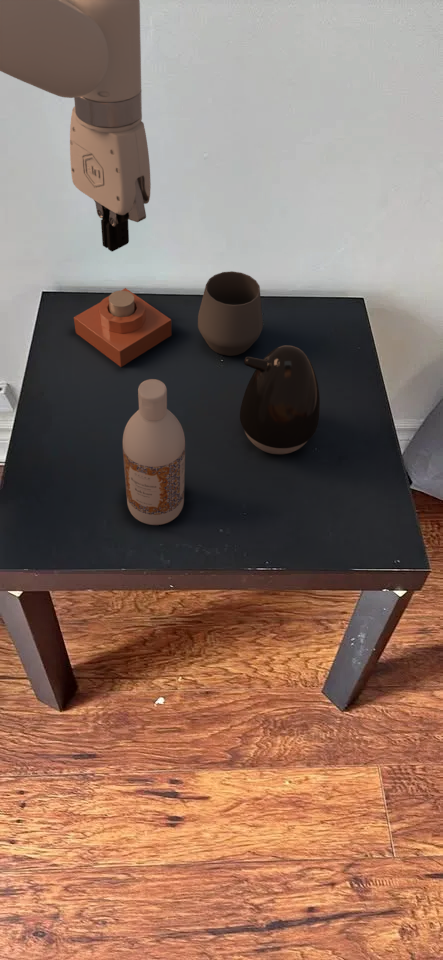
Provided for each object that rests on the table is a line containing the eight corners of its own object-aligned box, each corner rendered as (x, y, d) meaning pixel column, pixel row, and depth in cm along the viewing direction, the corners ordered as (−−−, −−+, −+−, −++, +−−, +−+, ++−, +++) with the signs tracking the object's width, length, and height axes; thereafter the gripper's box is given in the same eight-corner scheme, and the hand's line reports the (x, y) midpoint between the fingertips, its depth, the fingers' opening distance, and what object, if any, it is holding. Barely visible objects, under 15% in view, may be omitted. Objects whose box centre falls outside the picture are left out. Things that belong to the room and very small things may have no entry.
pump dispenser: (232, 410, 103) (240, 324, 91) (306, 407, 104) (324, 321, 92) (240, 468, 96) (250, 383, 84) (320, 464, 97) (340, 380, 86)
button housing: (120, 367, 107) (119, 340, 103) (75, 333, 111) (72, 306, 107) (171, 335, 111) (171, 308, 108) (126, 303, 115) (124, 276, 111)
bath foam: (117, 516, 91) (106, 400, 75) (141, 474, 95) (135, 357, 79) (170, 534, 90) (170, 421, 74) (192, 492, 94) (196, 376, 78)
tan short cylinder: (121, 321, 106) (120, 310, 104) (104, 309, 107) (103, 297, 106) (139, 310, 108) (139, 298, 106) (123, 298, 109) (122, 287, 107)
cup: (185, 349, 110) (186, 294, 102) (216, 314, 115) (219, 259, 107) (242, 373, 107) (247, 318, 99) (271, 336, 112) (278, 281, 105)
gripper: (40, 89, 86) (57, 231, 100) (128, 140, 80) (133, 283, 94) (90, 71, 89) (100, 210, 104) (178, 118, 83) (175, 259, 98)
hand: (115, 244), depth 99 cm, fingers closed
